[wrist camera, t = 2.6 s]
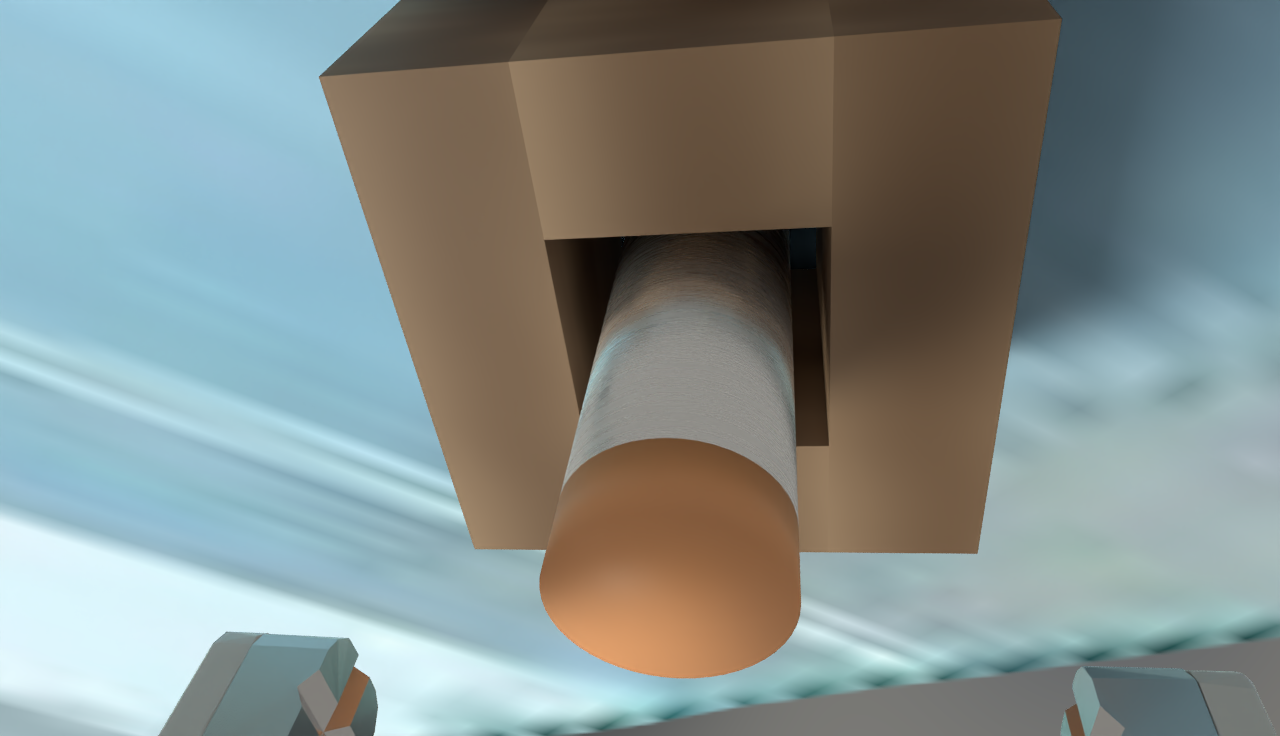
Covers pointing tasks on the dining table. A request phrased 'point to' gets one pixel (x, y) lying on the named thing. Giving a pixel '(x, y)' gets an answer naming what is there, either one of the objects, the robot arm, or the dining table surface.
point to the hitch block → (709, 224)
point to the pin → (684, 464)
